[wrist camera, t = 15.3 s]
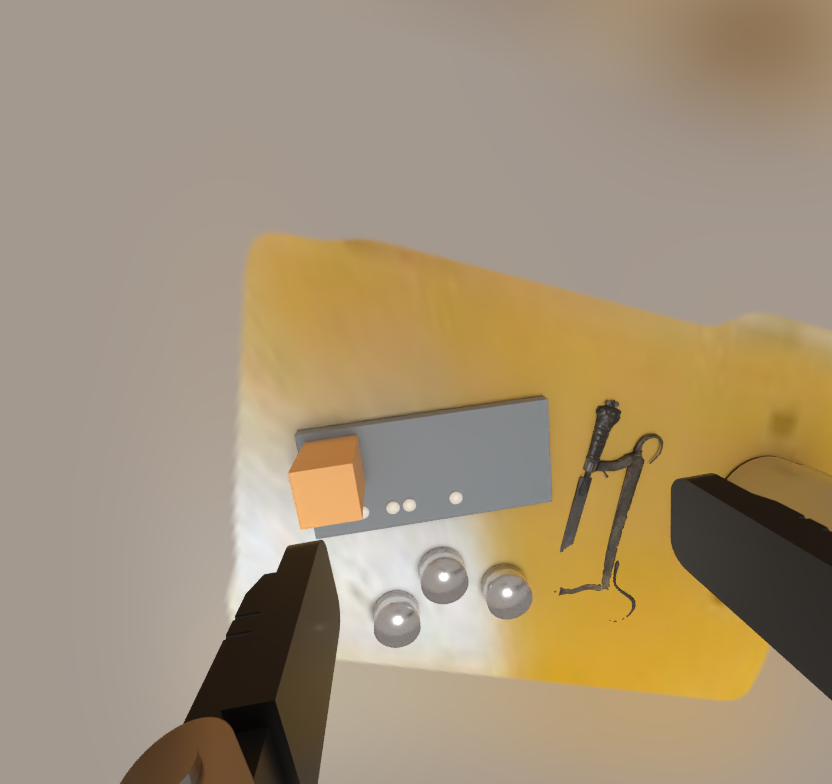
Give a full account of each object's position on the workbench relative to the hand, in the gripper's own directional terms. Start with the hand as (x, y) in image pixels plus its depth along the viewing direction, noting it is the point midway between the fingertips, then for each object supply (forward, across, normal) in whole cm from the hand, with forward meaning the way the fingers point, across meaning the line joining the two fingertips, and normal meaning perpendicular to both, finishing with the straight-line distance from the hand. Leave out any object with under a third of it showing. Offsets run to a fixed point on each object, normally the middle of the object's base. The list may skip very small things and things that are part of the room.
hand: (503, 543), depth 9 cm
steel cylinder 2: (+26, +1, +20) cm, 33 cm away
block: (+24, +8, +7) cm, 26 cm away
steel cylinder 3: (+26, -5, +24) cm, 35 cm away
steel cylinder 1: (+26, +6, +24) cm, 36 cm away
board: (+26, 0, +9) cm, 27 cm away
